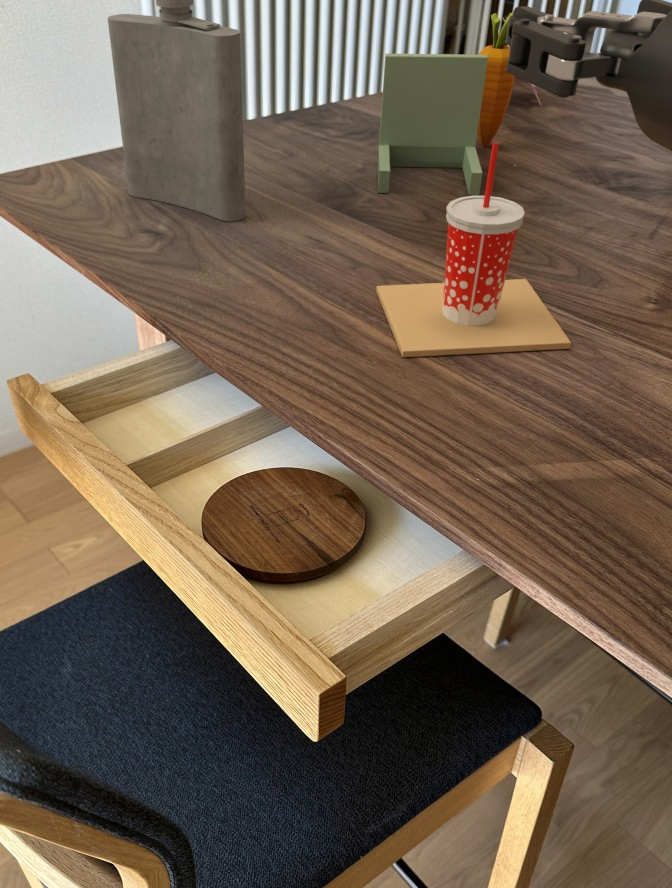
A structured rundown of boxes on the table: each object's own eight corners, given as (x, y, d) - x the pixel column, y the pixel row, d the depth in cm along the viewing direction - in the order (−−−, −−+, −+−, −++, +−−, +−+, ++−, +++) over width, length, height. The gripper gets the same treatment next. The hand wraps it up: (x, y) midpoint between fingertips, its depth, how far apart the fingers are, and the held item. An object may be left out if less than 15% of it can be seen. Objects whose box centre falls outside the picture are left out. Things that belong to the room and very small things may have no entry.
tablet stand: (471, 164, 103) (487, 54, 95) (479, 195, 96) (497, 78, 88) (377, 163, 104) (385, 53, 96) (377, 193, 97) (386, 76, 89)
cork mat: (525, 284, 79) (526, 278, 78) (569, 349, 70) (571, 342, 69) (376, 291, 78) (376, 285, 78) (402, 357, 69) (402, 351, 69)
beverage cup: (506, 300, 75) (537, 133, 66) (504, 333, 71) (537, 159, 61) (436, 293, 76) (458, 128, 67) (430, 326, 72) (451, 153, 62)
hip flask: (122, 193, 97) (97, -12, 84) (146, 183, 100) (125, -18, 86) (234, 223, 90) (225, 5, 77) (256, 211, 93) (251, -2, 79)
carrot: (462, 140, 110) (480, 7, 100) (501, 140, 110) (522, 6, 100) (467, 153, 107) (486, 15, 97) (507, 153, 106) (530, 15, 96)
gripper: (917, -11, 39) (699, -58, 51) (645, 8, 37) (481, -46, 48) (846, 158, 44) (662, 79, 56) (602, 185, 42) (463, 97, 53)
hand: (578, 21), depth 52 cm, fingers open, 8 cm apart
